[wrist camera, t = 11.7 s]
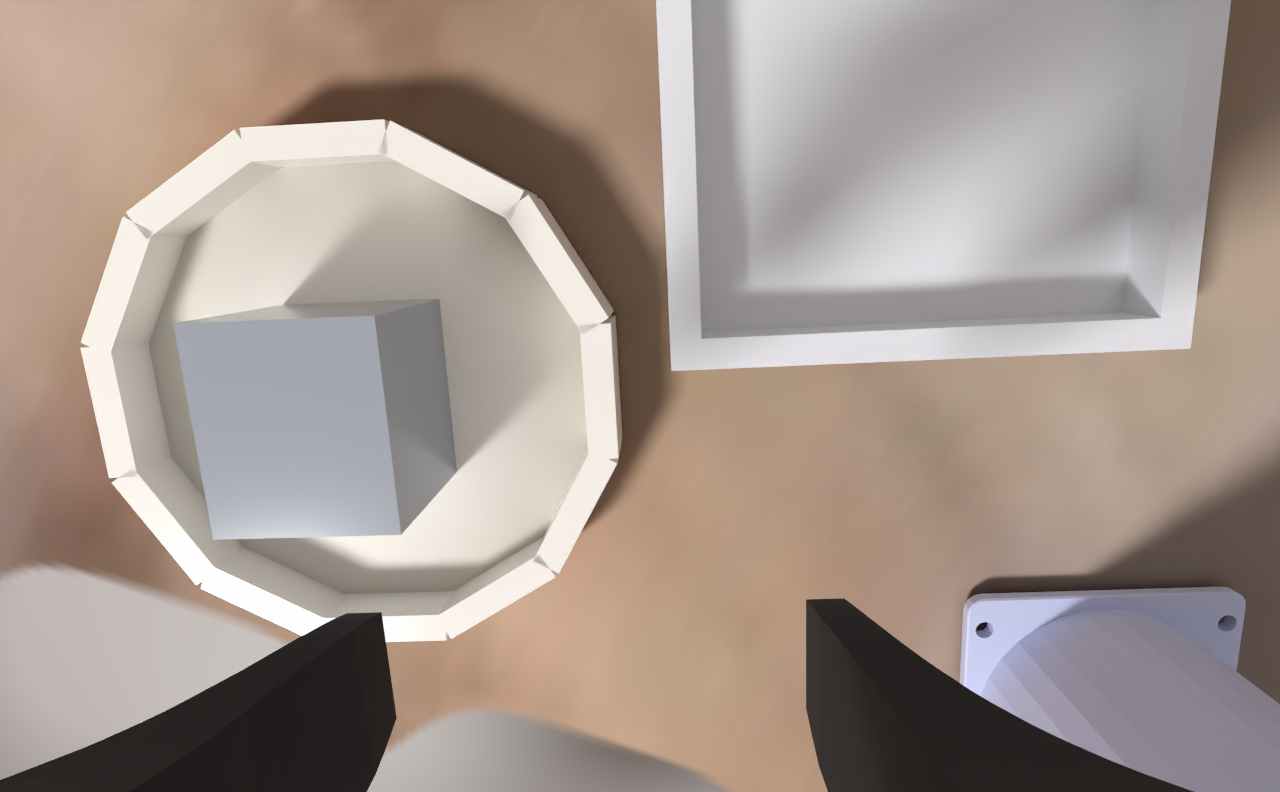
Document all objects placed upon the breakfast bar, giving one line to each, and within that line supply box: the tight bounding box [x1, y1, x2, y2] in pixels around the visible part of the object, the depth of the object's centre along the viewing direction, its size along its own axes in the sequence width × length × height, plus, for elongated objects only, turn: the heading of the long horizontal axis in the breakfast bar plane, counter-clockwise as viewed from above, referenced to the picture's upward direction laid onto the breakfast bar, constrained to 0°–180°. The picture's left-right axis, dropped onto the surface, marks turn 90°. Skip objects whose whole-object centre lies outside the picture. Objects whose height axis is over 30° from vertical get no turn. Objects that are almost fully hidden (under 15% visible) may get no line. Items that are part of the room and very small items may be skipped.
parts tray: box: [656, 0, 1231, 371], centre depth 18 cm, size 13×13×2 cm
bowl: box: [81, 119, 623, 642], centre depth 20 cm, size 14×14×2 cm
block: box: [173, 299, 457, 540], centre depth 18 cm, size 5×4×4 cm
